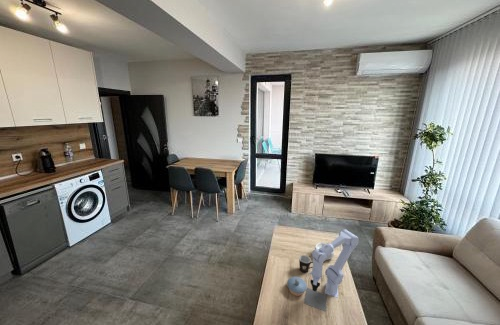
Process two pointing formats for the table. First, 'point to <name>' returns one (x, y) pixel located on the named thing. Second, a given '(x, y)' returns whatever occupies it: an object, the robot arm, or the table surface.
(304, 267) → the coffee mug
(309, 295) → the mat
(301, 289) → the lid
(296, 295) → the bowl
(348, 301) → the table surface
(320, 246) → the paper bowls
